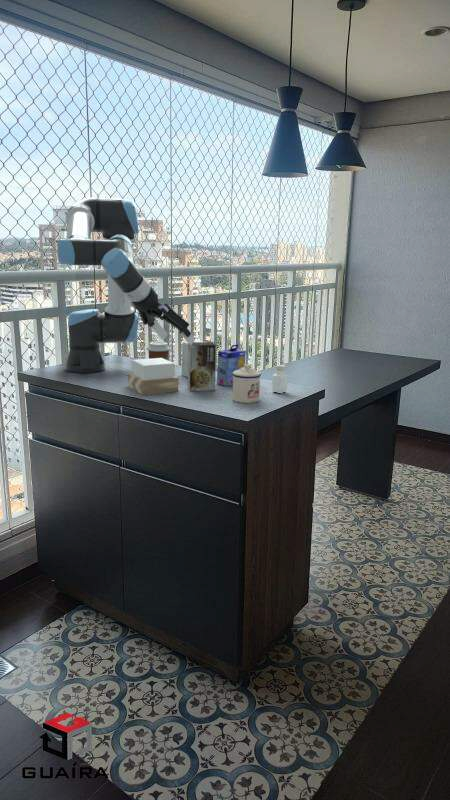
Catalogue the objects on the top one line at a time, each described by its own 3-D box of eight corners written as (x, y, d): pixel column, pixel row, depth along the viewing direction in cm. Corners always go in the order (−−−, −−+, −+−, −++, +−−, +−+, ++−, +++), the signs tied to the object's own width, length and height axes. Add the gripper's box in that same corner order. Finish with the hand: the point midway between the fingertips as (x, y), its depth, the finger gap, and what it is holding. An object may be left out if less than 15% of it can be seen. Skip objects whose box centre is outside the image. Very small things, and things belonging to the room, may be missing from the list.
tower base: (128, 387, 195) (128, 373, 194) (162, 384, 201) (162, 370, 200) (142, 395, 184) (142, 381, 183) (178, 392, 191) (178, 377, 189)
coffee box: (212, 386, 198) (213, 341, 194) (215, 390, 192) (216, 344, 188) (187, 386, 197) (187, 341, 192) (189, 391, 190) (189, 344, 186)
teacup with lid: (251, 405, 175) (252, 368, 172) (226, 400, 179) (227, 365, 176) (268, 397, 185) (270, 363, 182) (244, 393, 189) (246, 359, 186)
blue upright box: (227, 386, 198) (228, 346, 195) (215, 384, 202) (216, 344, 198) (245, 382, 206) (246, 343, 202) (234, 380, 209) (235, 341, 206)
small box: (189, 378, 210) (189, 344, 207) (181, 375, 215) (181, 341, 212) (207, 376, 214) (208, 342, 211) (199, 373, 220) (199, 340, 216)
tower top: (132, 374, 193) (132, 359, 192) (161, 371, 198) (161, 357, 197) (144, 380, 184) (143, 365, 183) (174, 377, 189) (174, 363, 188)
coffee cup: (171, 371, 221) (171, 341, 218) (168, 376, 212) (168, 345, 209) (148, 370, 221) (148, 340, 218) (145, 375, 212) (144, 344, 209)
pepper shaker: (280, 394, 189) (282, 367, 187) (271, 392, 192) (272, 365, 190) (287, 392, 192) (288, 365, 190) (277, 390, 195) (279, 363, 193)
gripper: (110, 300, 175) (148, 343, 189) (161, 306, 158) (198, 353, 172) (123, 283, 177) (160, 327, 191) (175, 287, 161) (211, 335, 175)
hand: (178, 339), depth 182 cm, fingers open, 13 cm apart
